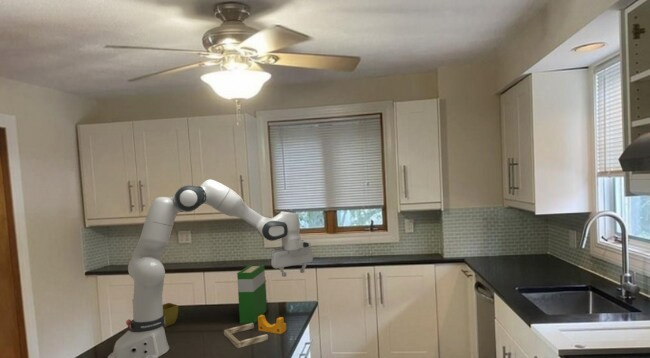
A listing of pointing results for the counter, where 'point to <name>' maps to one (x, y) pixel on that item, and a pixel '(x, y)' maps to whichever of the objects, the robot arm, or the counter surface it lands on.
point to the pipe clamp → (274, 328)
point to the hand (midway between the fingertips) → (293, 274)
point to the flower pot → (170, 313)
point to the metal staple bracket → (246, 342)
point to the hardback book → (251, 293)
